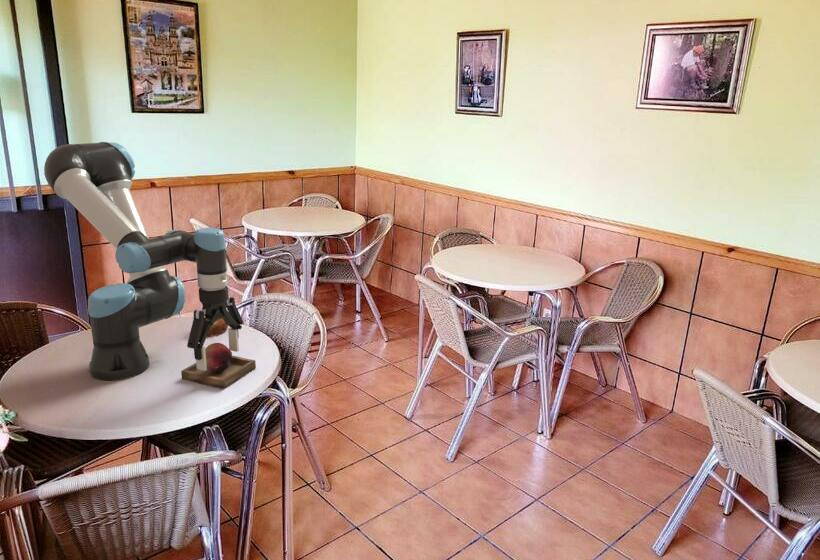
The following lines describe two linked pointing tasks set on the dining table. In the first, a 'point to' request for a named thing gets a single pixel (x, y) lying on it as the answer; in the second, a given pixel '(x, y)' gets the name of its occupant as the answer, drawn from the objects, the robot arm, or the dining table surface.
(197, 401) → the dining table surface
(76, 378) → the dining table surface
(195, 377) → the walnut tray
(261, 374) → the dining table surface
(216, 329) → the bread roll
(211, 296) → the robot arm
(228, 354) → the fruit
